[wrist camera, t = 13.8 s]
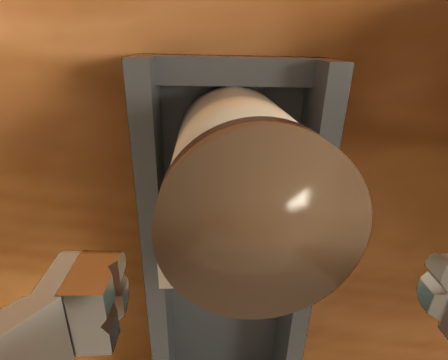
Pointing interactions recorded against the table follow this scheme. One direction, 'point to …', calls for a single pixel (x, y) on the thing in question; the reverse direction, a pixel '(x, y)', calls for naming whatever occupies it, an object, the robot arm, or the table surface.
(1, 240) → the table surface
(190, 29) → the table surface
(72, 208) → the table surface
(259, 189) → the jar
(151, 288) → the lane
